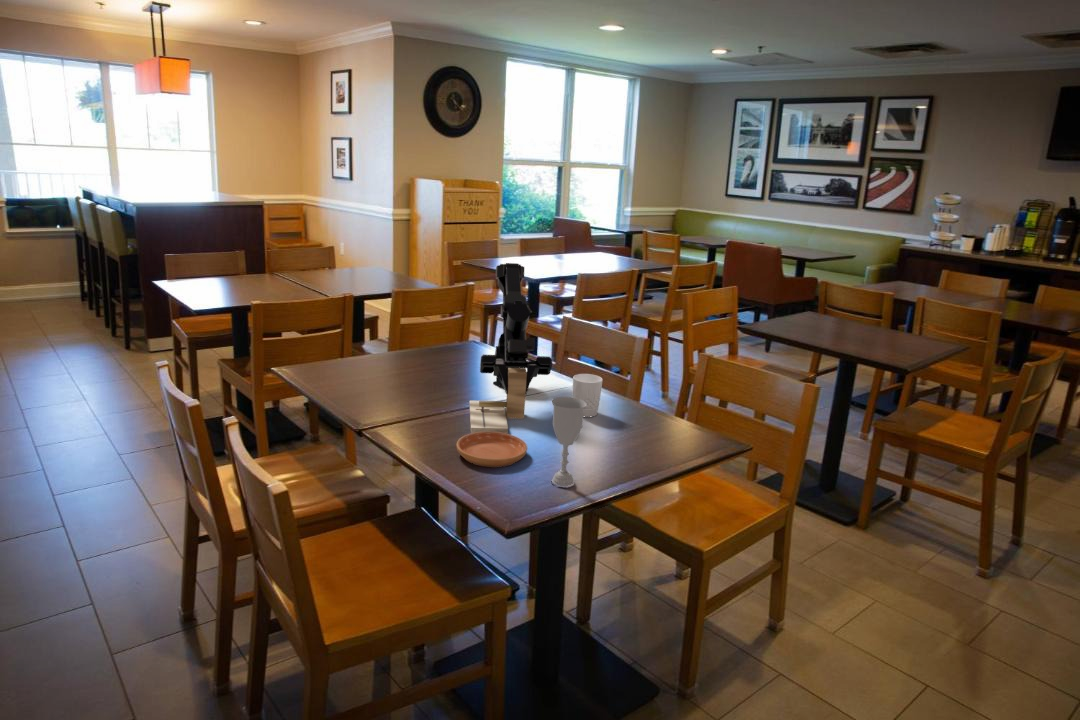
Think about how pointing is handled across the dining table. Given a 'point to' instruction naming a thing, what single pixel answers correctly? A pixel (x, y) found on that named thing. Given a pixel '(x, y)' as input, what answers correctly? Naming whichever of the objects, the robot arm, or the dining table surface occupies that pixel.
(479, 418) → the birch board
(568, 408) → the chalice
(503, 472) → the dining table surface
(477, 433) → the saucer
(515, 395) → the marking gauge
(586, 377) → the white cup
